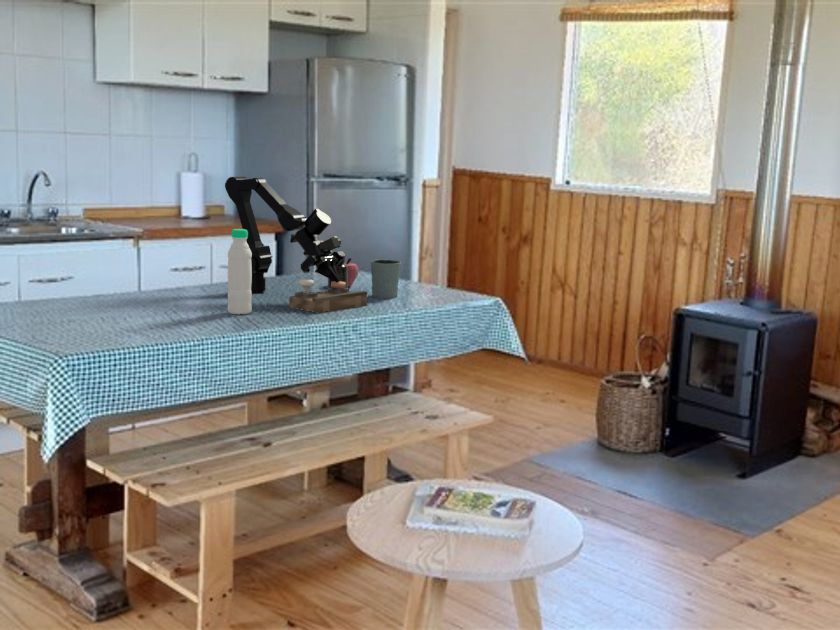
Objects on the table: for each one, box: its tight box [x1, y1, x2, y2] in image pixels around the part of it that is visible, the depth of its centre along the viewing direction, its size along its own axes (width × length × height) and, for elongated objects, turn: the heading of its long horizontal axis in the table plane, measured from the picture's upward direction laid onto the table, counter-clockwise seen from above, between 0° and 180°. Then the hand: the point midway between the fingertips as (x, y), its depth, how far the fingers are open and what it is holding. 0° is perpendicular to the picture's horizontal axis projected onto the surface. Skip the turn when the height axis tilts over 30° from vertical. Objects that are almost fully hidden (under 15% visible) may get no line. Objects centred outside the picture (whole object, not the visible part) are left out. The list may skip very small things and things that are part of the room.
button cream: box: [298, 278, 315, 294], centre depth 305 cm, size 5×5×6 cm
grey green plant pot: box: [370, 258, 402, 300], centre depth 331 cm, size 10×10×12 cm
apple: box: [344, 257, 360, 287], centre depth 349 cm, size 10×9×10 cm
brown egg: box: [331, 281, 346, 289], centre depth 316 cm, size 5×5×6 cm
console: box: [288, 287, 368, 313], centre depth 309 cm, size 12×22×5 cm, turn 140°
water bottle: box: [227, 228, 253, 316], centre depth 292 cm, size 7×7×25 cm
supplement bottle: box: [327, 257, 349, 289], centre depth 337 cm, size 7×7×12 cm
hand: (338, 281), depth 315 cm, fingers closed, pressing on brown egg
